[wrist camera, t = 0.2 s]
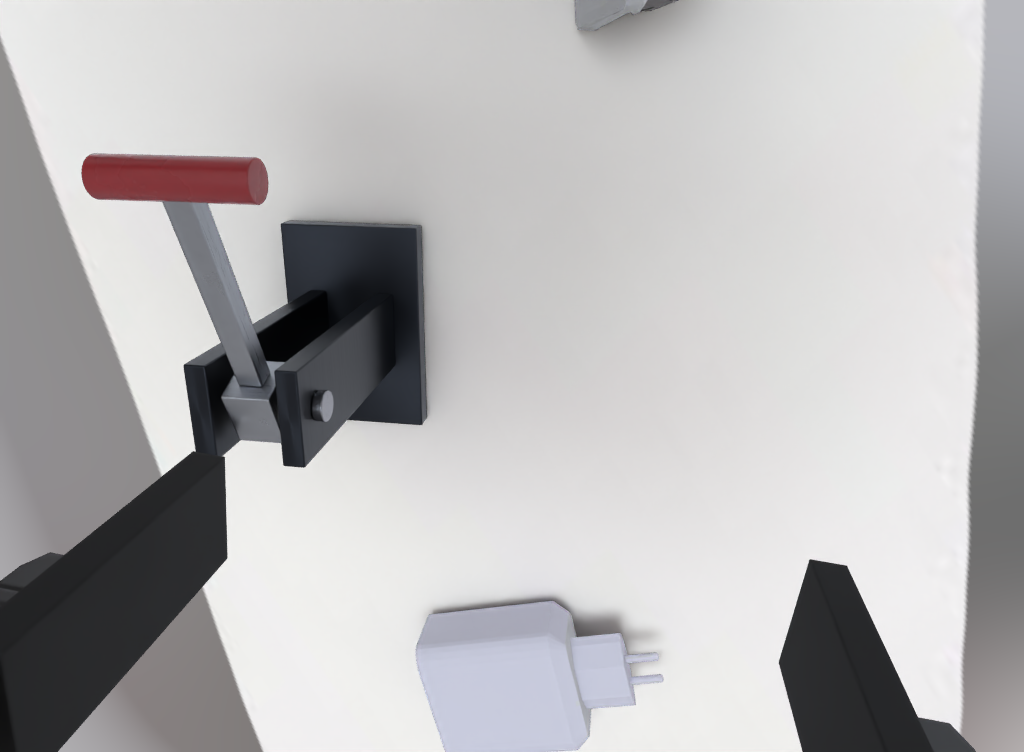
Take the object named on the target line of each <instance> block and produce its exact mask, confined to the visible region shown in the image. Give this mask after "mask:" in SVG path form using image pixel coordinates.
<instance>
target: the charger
mask: <svg viewBox="0 0 1024 752" xmlns="http://www.w3.org/2000/svg"><path fill="white" fill-rule="evenodd" d="M658 659H659V655H658V653H645V654H635V655H627V652H626V647H625V643H624V640H623V638H622V635H621V633H614V634H604V635H594V636H584V637H577V636H576V632H575V628H574V624H573V620H572V616H571V613H570V612H569V611H567V610H566V609H564V608H563V607H561V606H560V605H559V604H557V603H556V602H554V601H546V602H537V603H528V604H519V605H510V606H501V607H492V608H483V609H474V610H465V611H457V612H448V613H439V614H430V615H429V616H428V617H427V620H426V623H425V625H424V628H423V630H422V633H421V635H420V638H419V640H418V643H417V646H416V661H417V666H418V671H419V674H420V678H421V681H422V684H423V687H424V690H425V693H426V696H427V699H428V702H429V705H430V708H431V711H432V714H433V717H434V720H435V723H436V726H437V729H438V732H439V735H440V738H441V741H442V744H443V747H444V749H445V752H558V751H572V750H578V749H579V748H580V747H581V746H582V744H583V743H584V742H585V741H586V740H587V738H588V737H589V735H590V719H591V709H592V708H604V707H617V706H629V705H636V702H635V694H634V687H633V685H635V684H647V683H659V682H663V676H662V675H661V674H657V675H646V676H635V677H632V675H631V669H630V665H629V663H636V662H647V661H658Z"/></svg>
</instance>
